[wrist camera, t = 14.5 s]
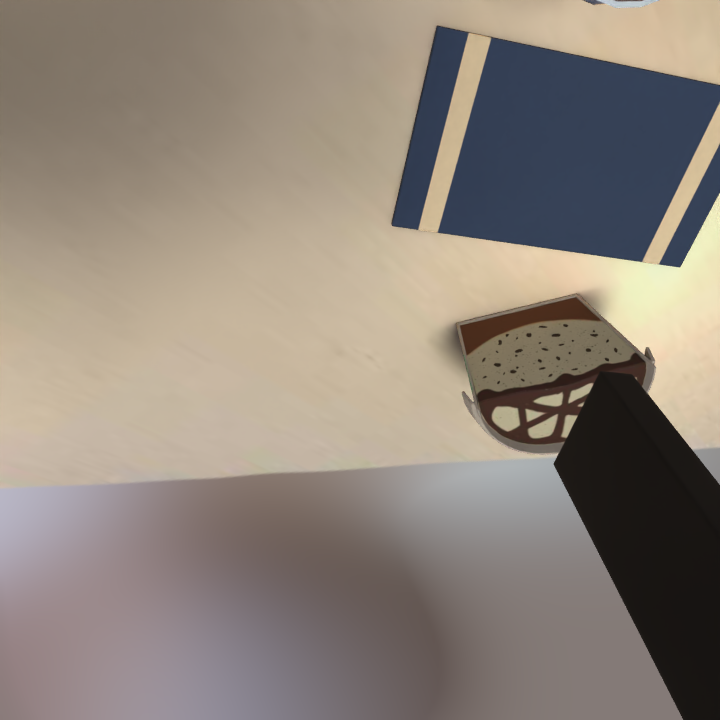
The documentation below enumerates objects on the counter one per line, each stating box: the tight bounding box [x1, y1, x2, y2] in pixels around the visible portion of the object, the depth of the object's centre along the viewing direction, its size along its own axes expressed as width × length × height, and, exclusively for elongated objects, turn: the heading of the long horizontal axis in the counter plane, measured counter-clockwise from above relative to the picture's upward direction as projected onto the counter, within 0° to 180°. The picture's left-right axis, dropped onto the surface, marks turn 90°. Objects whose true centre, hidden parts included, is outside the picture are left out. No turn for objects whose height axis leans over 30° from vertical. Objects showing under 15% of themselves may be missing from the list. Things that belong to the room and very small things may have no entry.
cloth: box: [392, 26, 720, 267], centre depth 40 cm, size 22×12×1 cm, turn 79°
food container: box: [456, 294, 656, 455], centre depth 44 cm, size 12×6×10 cm, turn 103°
